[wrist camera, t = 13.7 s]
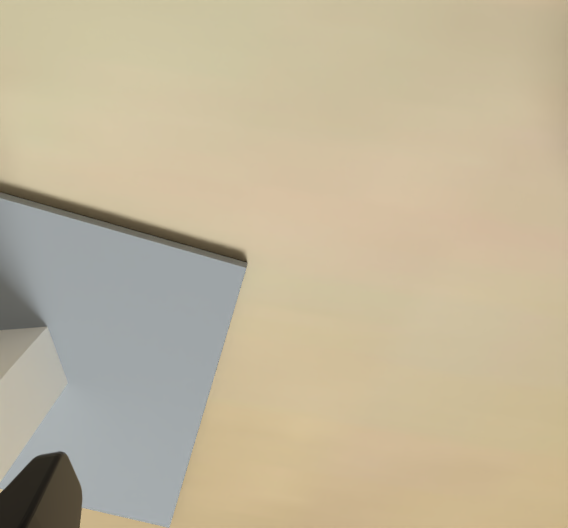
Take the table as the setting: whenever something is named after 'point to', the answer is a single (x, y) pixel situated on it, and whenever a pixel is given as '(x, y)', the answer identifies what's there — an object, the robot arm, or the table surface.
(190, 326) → the slate mat
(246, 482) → the table surface
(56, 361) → the white flat block
